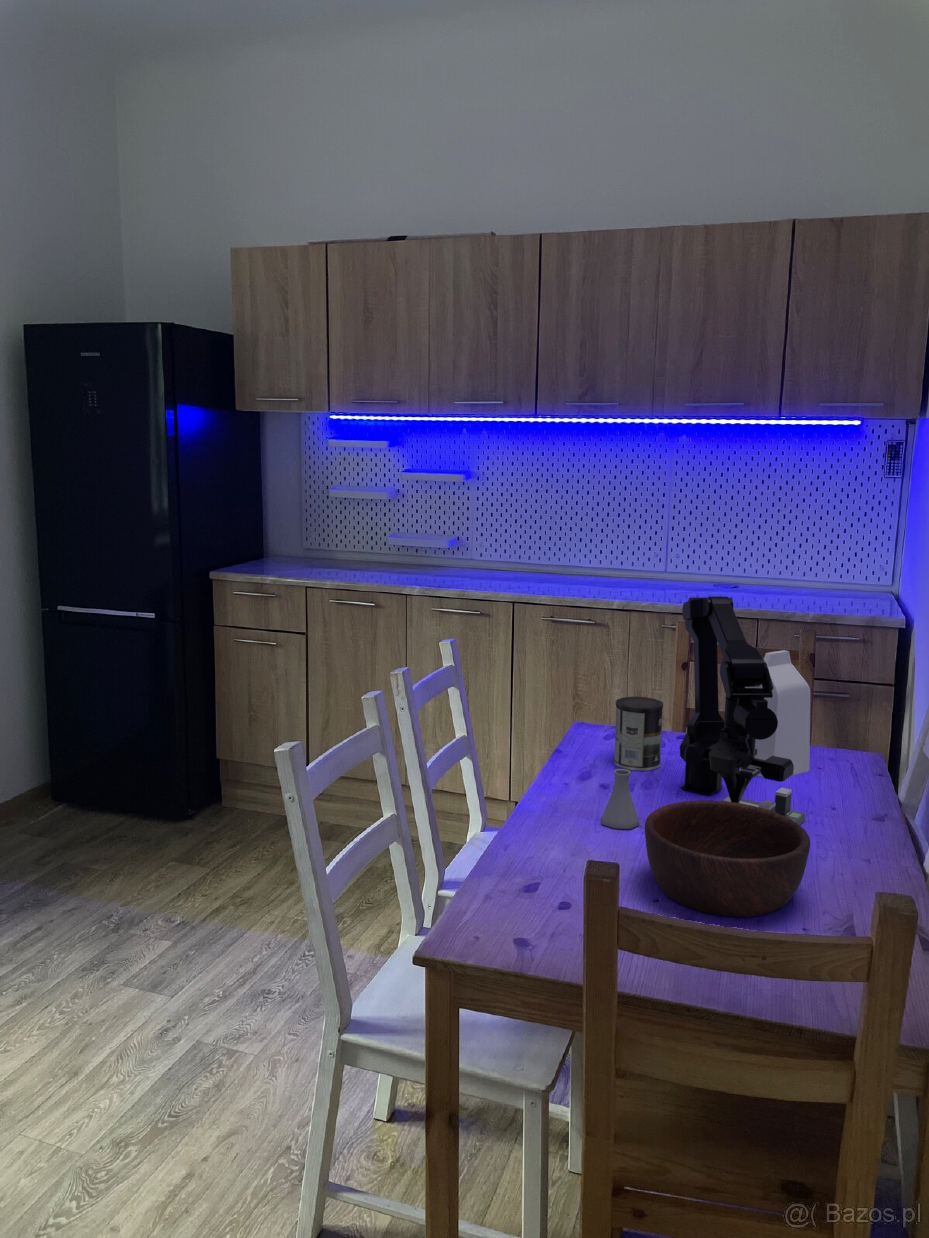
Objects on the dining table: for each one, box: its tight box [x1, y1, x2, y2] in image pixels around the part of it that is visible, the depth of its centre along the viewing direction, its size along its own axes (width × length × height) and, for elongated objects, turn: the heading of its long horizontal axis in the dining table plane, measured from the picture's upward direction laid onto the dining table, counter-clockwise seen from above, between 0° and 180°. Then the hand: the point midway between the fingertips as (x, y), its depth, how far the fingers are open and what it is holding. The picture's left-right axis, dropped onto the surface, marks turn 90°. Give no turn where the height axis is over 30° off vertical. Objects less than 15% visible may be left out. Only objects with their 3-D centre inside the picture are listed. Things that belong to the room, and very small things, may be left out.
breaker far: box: [774, 787, 793, 815], centre depth 181 cm, size 2×3×4 cm, turn 142°
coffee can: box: [613, 696, 664, 772], centre depth 212 cm, size 10×10×14 cm
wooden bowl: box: [644, 799, 811, 918], centre depth 152 cm, size 25×25×10 cm
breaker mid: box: [759, 799, 776, 812], centre depth 174 cm, size 2×3×4 cm, turn 142°
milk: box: [739, 649, 811, 782], centre depth 209 cm, size 12×12×26 cm
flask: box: [600, 768, 640, 830], centre depth 179 cm, size 7×7×10 cm
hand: (735, 804), depth 178 cm, fingers closed
